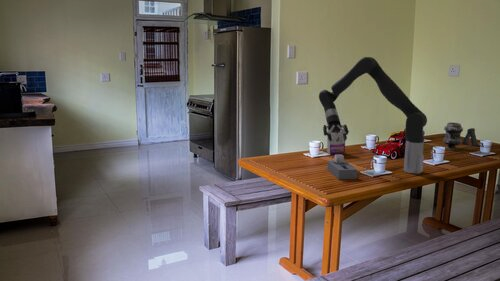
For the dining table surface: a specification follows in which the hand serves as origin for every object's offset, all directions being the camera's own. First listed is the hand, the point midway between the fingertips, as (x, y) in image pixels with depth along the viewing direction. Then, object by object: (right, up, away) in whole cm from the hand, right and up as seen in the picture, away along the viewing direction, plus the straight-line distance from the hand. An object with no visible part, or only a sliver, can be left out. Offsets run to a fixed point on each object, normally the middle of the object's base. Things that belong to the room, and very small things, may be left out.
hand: (338, 140), depth 241 cm
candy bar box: (+6, -9, +38) cm, 40 cm away
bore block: (-1, -18, -11) cm, 22 cm away
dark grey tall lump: (+90, -6, +52) cm, 104 cm away
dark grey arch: (+110, -3, +65) cm, 128 cm away
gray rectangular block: (-1, -17, -7) cm, 18 cm away
